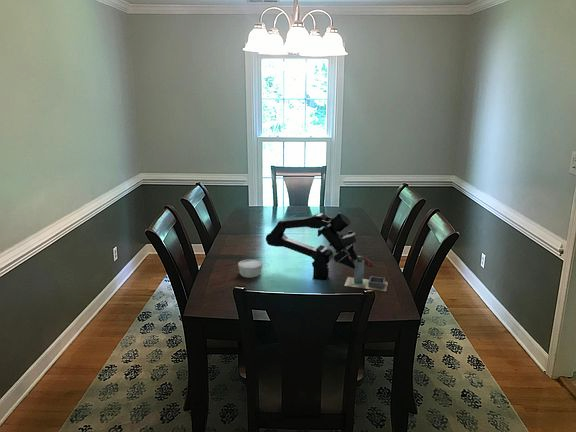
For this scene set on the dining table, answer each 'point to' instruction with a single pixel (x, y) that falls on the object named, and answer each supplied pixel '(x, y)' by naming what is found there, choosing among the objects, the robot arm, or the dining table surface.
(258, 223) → the dining table surface
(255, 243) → the dining table surface
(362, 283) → the pad
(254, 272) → the ramekin
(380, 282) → the gray square frame
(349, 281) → the board
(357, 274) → the capped bottle
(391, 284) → the dining table surface
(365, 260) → the pliers
